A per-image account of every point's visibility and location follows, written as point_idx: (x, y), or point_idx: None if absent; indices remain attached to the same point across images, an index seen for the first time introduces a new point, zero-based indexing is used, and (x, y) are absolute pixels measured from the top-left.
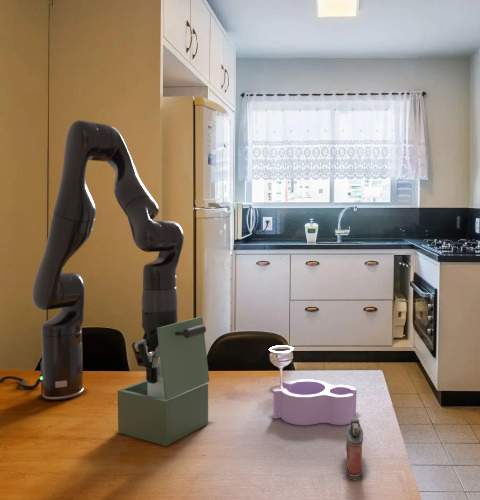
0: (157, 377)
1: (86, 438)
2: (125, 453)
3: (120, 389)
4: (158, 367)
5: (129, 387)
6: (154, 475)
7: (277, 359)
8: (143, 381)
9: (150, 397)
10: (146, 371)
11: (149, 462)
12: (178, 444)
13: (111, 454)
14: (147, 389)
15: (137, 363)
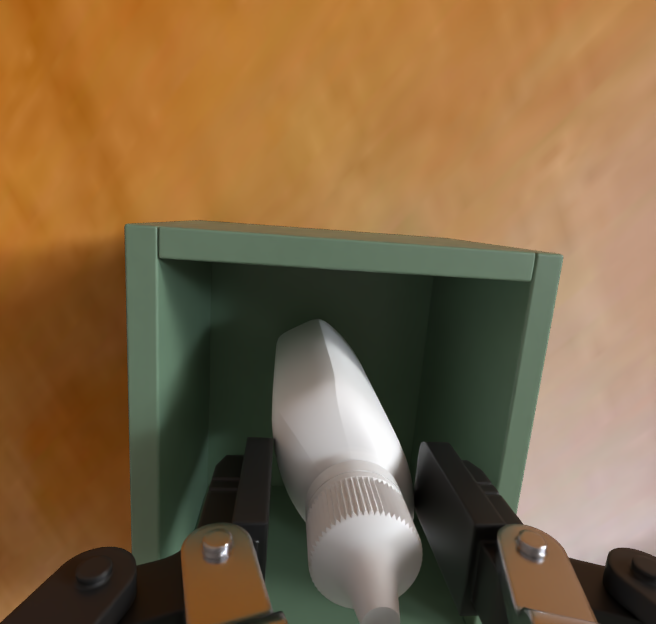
0: (300, 502)
1: (87, 131)
2: (77, 399)
3: (149, 230)
4: (313, 575)
5: (216, 260)
6: (20, 596)
7: None
8: (367, 254)
9: (138, 541)
10: (202, 515)
11: (73, 523)
12: None
13: (43, 358)
14: (276, 377)
15: (44, 582)
